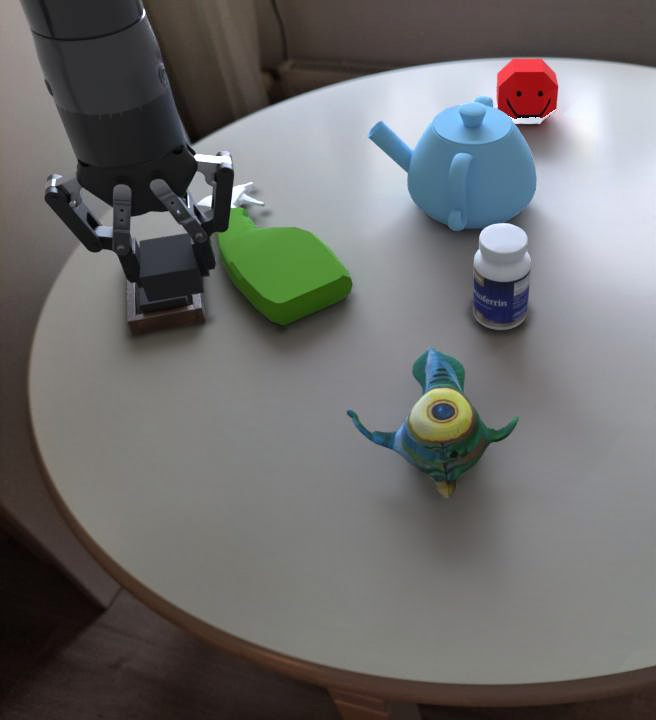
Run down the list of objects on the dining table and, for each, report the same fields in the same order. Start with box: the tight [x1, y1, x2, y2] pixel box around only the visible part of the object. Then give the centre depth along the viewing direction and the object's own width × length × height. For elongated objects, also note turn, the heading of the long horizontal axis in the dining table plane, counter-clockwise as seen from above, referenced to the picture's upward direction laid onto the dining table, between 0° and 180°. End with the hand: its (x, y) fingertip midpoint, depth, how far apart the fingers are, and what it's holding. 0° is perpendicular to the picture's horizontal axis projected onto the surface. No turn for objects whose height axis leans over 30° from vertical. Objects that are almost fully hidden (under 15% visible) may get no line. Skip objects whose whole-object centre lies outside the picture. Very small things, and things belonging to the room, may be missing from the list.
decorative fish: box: [346, 346, 520, 499], centre depth 71 cm, size 13×12×6 cm
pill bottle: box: [472, 222, 532, 331], centre depth 81 cm, size 6×6×10 cm
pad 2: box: [139, 288, 191, 314], centre depth 84 cm, size 4×5×3 cm
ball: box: [496, 58, 559, 119], centre depth 110 cm, size 8×8×8 cm
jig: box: [126, 243, 207, 336], centre depth 86 cm, size 7×13×2 cm, turn 18°
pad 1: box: [138, 232, 205, 302], centre depth 66 cm, size 4×5×3 cm
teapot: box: [366, 94, 538, 232], centre depth 94 cm, size 20×20×13 cm
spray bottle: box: [196, 181, 354, 326], centre depth 90 cm, size 3×11×24 cm
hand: (174, 275), depth 67 cm, fingers closed on pad 1, 4 cm apart
